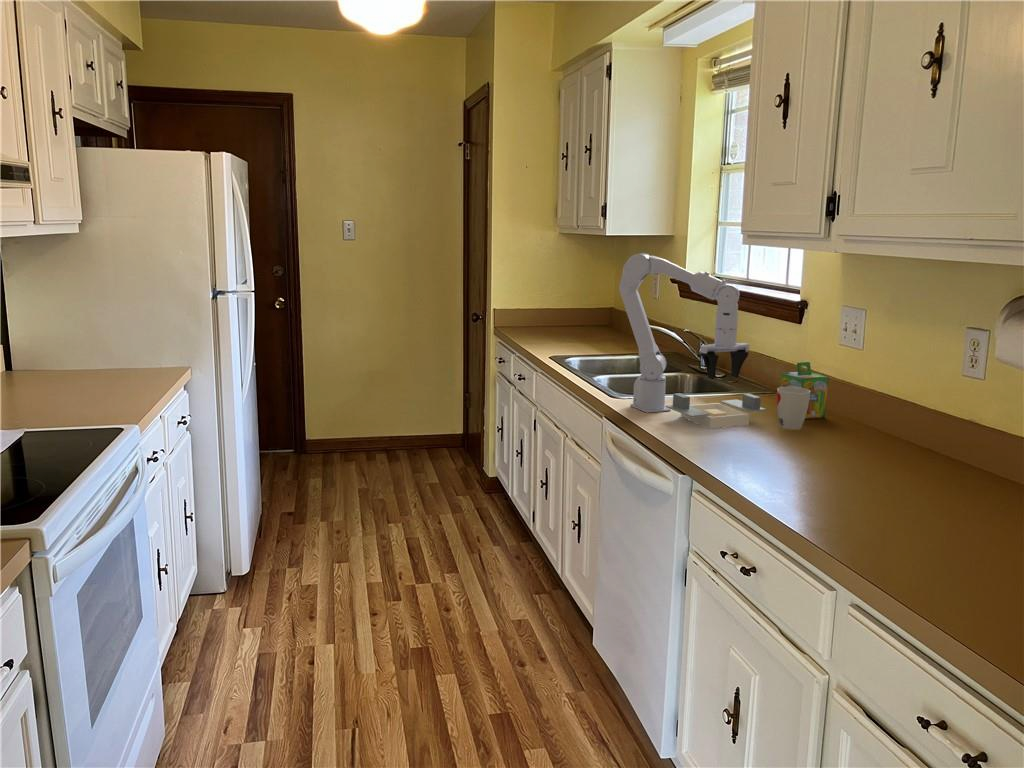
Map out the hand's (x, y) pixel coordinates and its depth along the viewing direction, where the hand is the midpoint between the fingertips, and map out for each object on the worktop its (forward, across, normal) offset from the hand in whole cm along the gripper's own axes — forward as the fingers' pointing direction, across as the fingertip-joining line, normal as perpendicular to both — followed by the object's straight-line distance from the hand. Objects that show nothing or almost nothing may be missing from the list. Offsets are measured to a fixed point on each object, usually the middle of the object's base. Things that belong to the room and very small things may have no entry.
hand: (723, 377), depth 221 cm
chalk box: (+11, +21, -8) cm, 25 cm away
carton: (+10, -6, -6) cm, 13 cm away
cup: (+11, +9, -18) cm, 23 cm away
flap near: (+7, -15, -5) cm, 17 cm away
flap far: (+7, +3, -5) cm, 9 cm away
